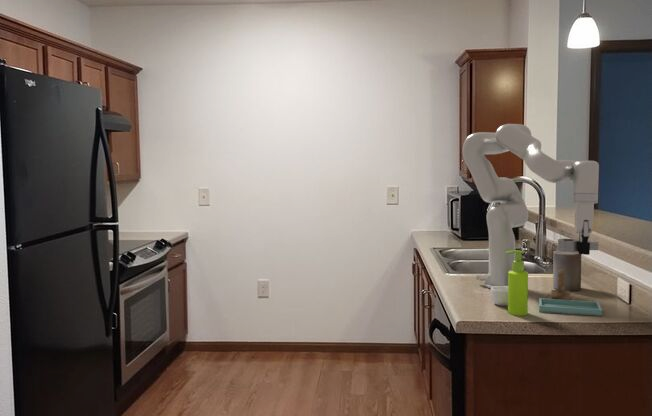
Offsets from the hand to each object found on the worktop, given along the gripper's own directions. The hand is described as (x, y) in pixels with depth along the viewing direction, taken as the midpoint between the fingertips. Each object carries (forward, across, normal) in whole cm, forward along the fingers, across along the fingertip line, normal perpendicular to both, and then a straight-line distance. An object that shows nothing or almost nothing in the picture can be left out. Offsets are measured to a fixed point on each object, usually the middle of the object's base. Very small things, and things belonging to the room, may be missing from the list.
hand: (583, 253), depth 188 cm
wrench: (-1, 0, -2) cm, 2 cm away
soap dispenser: (+17, +19, -21) cm, 33 cm away
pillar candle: (+17, -21, -4) cm, 28 cm away
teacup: (+17, +8, -26) cm, 32 cm away
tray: (+17, +10, -5) cm, 20 cm away
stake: (+17, 0, -7) cm, 18 cm away
